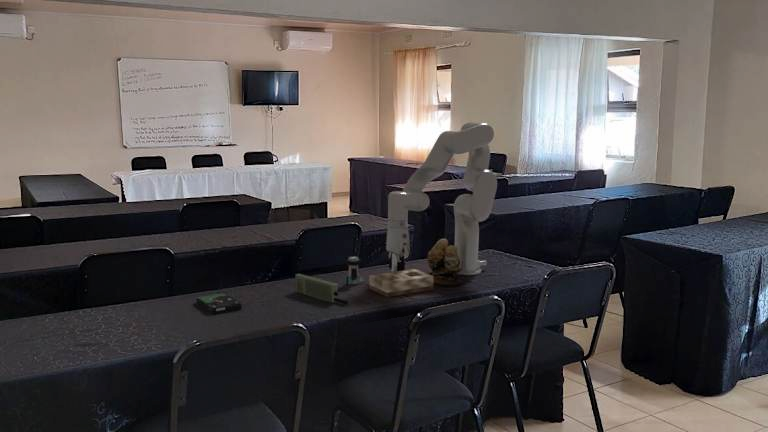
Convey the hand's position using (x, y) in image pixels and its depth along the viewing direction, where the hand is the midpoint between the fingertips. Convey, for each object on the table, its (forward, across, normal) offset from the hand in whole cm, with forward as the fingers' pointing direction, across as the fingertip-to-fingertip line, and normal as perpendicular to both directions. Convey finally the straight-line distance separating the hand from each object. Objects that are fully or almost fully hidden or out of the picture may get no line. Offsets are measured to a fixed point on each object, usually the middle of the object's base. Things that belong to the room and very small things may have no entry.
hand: (396, 269), depth 258 cm
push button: (+4, +1, +18) cm, 18 cm away
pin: (+3, 0, 0) cm, 3 cm away
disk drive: (+4, -2, +71) cm, 71 cm away
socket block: (+3, -14, +7) cm, 16 cm away
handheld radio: (+4, -10, +38) cm, 39 cm away
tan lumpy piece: (+4, -13, -13) cm, 19 cm away
